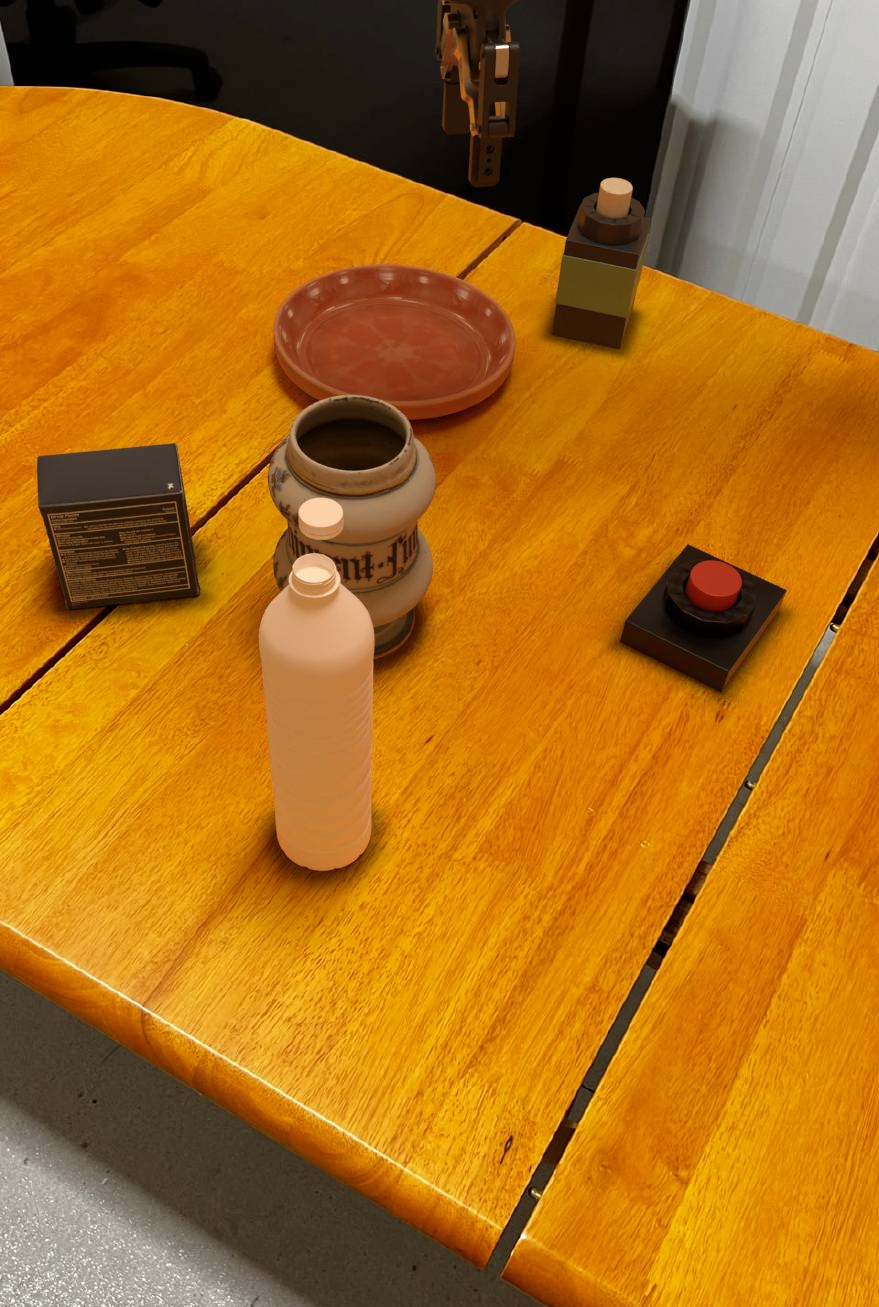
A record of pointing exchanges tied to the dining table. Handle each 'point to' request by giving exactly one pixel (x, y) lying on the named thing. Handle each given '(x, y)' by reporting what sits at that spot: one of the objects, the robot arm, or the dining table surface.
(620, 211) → the tan cylindrical peg
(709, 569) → the bell button
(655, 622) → the button housing
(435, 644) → the dining table surface
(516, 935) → the dining table surface
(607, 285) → the pump bottle label
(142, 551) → the small box
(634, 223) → the pump bottle
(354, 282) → the saucer
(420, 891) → the dining table surface
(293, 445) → the apothecary jar
